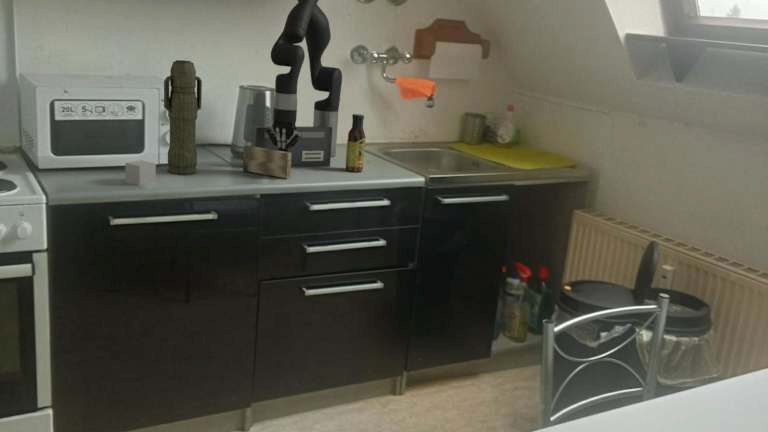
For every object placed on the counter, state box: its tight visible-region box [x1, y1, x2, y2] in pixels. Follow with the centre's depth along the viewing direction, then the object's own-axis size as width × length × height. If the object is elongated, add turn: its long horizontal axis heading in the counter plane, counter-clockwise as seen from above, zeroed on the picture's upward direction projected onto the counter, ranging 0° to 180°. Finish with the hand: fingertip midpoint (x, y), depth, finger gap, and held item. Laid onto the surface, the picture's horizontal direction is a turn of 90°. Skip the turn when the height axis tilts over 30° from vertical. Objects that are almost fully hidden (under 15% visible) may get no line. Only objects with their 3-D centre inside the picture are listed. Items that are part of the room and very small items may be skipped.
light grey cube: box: [125, 159, 157, 187], centre depth 218 cm, size 6×6×6 cm
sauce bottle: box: [345, 113, 366, 173], centre depth 257 cm, size 7×6×20 cm
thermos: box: [163, 59, 203, 176], centre depth 231 cm, size 9×12×35 cm
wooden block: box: [242, 145, 292, 179], centre depth 240 cm, size 17×3×8 cm, turn 68°
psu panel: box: [252, 125, 332, 168], centre depth 255 cm, size 3×28×14 cm, turn 118°
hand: (282, 159), depth 242 cm, fingers closed
